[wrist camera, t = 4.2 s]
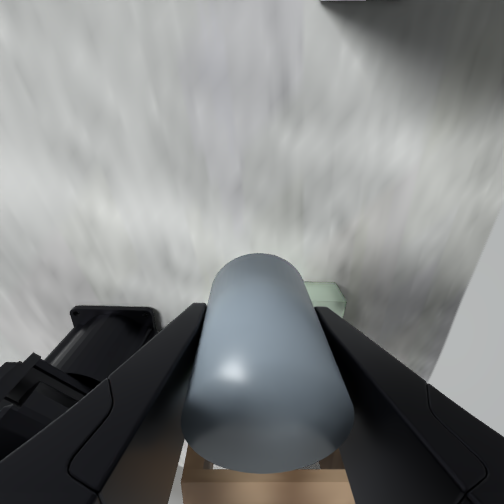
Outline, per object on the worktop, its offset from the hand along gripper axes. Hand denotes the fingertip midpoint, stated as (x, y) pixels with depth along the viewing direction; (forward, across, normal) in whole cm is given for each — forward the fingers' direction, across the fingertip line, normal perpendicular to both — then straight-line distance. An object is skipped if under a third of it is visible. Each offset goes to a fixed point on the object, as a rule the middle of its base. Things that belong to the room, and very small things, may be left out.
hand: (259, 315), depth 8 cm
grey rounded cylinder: (+1, 0, 0) cm, 1 cm away
